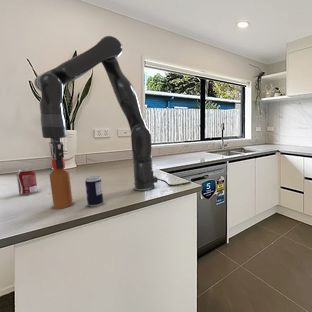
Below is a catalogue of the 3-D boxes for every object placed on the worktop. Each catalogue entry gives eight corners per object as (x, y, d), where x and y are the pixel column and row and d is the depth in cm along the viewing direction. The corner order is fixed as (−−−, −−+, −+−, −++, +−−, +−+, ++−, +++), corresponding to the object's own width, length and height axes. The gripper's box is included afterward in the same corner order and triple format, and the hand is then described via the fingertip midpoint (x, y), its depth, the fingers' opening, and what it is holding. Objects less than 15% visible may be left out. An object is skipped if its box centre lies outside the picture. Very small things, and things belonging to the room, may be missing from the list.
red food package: (41, 192, 112) (38, 169, 111) (25, 196, 106) (21, 171, 104) (32, 190, 115) (29, 168, 113) (16, 194, 108) (12, 170, 107)
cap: (65, 166, 94) (64, 158, 93) (63, 168, 90) (62, 159, 90) (53, 167, 92) (52, 158, 92) (51, 169, 89) (50, 160, 88)
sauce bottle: (74, 202, 98) (69, 158, 95) (71, 206, 92) (65, 160, 89) (55, 204, 95) (50, 159, 92) (51, 209, 89) (45, 162, 86)
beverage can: (99, 201, 99) (97, 175, 97) (105, 204, 95) (103, 176, 94) (85, 205, 94) (82, 177, 92) (91, 208, 91) (88, 179, 89)
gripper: (69, 125, 87) (74, 168, 89) (61, 125, 96) (66, 164, 99) (44, 125, 81) (50, 171, 84) (38, 125, 91) (44, 166, 93)
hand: (58, 167), depth 91 cm, fingers closed on cap, 4 cm apart
